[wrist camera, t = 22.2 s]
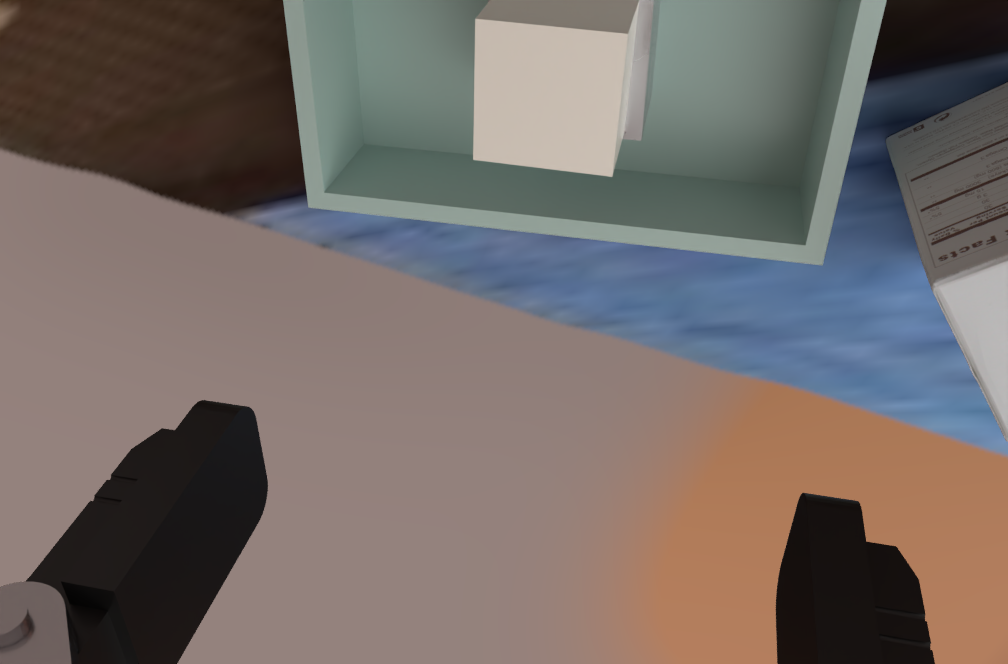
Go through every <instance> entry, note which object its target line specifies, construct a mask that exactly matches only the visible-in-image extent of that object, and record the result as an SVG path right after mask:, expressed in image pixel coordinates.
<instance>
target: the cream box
mask: <svg viewBox="0 0 1008 664" xmlns="http://www.w3.org/2000/svg"><path fill="white" fill-rule="evenodd" d="M638 8H639V0H490V1H489V2H488V3H487V5H486V6H485V7H484V8H483V10H482V11H481V12H480V13H479V15H478V16H477V17H476V18H475V69H474V135H473V160H479V161H487V162H495V163H503V164H511V165H519V166H528V167H536V168H544V169H552V170H560V171H568V172H577V173H585V174H593V175H601V176H609V177H612V176H613V172H614V169H615V165H616V161H617V157H618V154H619V150H620V146H621V142H622V139H623V135H624V130H625V121H626V112H627V104H628V95H629V86H630V77H631V69H632V60H633V51H634V43H635V34H636V25H637V17H638Z"/></svg>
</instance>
